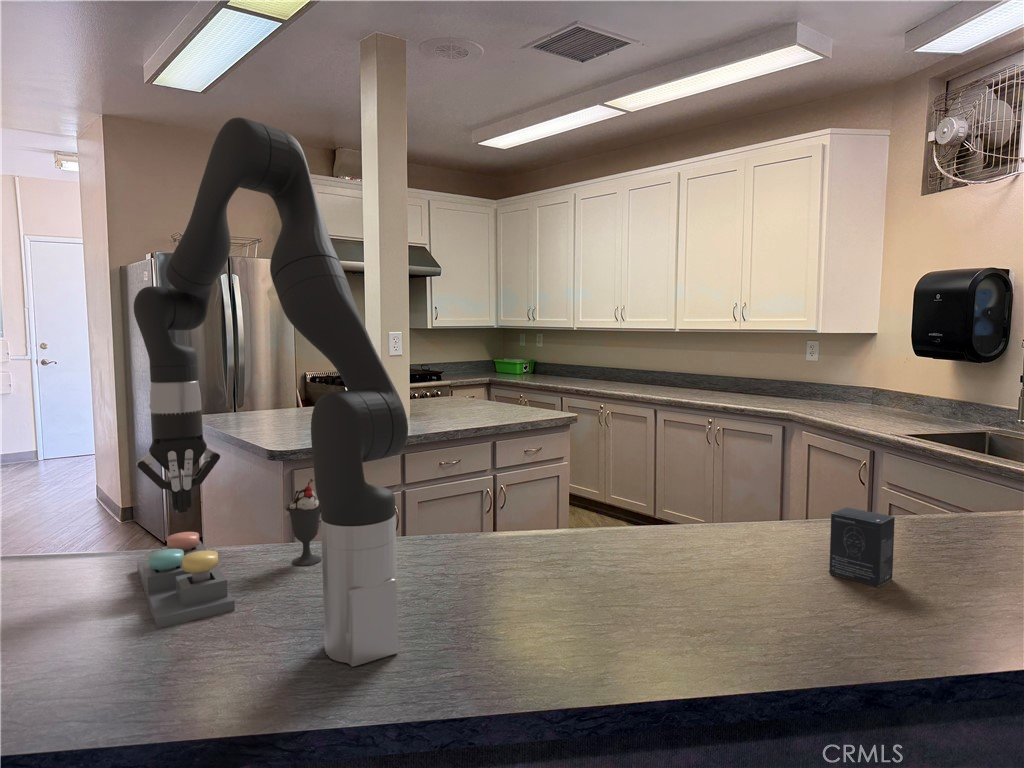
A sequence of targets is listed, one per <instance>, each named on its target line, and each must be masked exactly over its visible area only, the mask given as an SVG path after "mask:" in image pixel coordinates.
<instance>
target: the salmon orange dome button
mask: <svg viewBox="0 0 1024 768" xmlns="http://www.w3.org/2000/svg"><path fill="white" fill-rule="evenodd" d="M199 541H200V534H199V532H195V531H183V532H178V533H174V534H173V533H172V534H171V535H168V536H167V538H166V542H167V543H166V546H167V548H168V549H181V550H183V551H184V552H185V551H190V550H192V548H194V547H196V546H198V545H199Z"/></svg>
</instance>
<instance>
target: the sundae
mask: <svg viewBox="0 0 1024 768" xmlns="http://www.w3.org/2000/svg"><path fill="white" fill-rule="evenodd" d="M312 482H314V479H313V478H310V480H309V481H308V483H307V486H305V487H304V488H303V489H300V490H296V491H295V493H294V498H293V501H292V502H290V503H286V504H285V505H284V508H285V511H287V512H289V515H290V522H291V527H292V531H293V535H294V537H295V539H297V540H298V541H299V542H300V543H302V554H301V555H300V556H297V557H295V558H293V560H292V562H291V563H292V565H294V566H297V567H307V566H313V565H316V564H319V562H322V556H320V555H314V554H312V552H311V542H312V540H314V539H315V538H316V536H317V535H318V532H319V527H320V520H321V508H320V504H319V501H318V498H317V495H316V492H314V491H313V490H312V486H310V484H312Z"/></svg>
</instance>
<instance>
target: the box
mask: <svg viewBox="0 0 1024 768" xmlns="http://www.w3.org/2000/svg"><path fill="white" fill-rule="evenodd" d="M895 519H896V518H895V516H893V515H887V514H882V513H877V512H872V511H869V510H868V511H867V510H862V509H856V508H852V507H844V508H841V509H838V510H836V511H832V512H831V514H830V537H829V538H830V539H829V540H830V542H829V570H828V571H829V574H830V575H833V576H836V575H837V577H840V578H843V577H844V579H848V580H851V581H854V582H858V583H863V584H865V585H869V586H873V587H877V588H879V587H881V585H882V586H883V585H885V584H886V583H888V582H890V581H892V579H893V571H894V569H893V566H894V543H895V525H896V524H895V521H896V520H895Z"/></svg>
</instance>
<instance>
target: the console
mask: <svg viewBox="0 0 1024 768" xmlns="http://www.w3.org/2000/svg"><path fill="white" fill-rule="evenodd" d="M160 548H161V549H160V550H165V549H168V548H167V545H166V546H161V547H160ZM205 550H207V549H206V548H205V545H204V544H203V542H202V541H201V540H199V545H198V546H196V547H194V548H192V550H190V551H185V552H184V556H185V555H187V554H189V553H192V552H197V551H205ZM136 567H137V573H138V576H139V579H140V582H141V585H142V587H143V592H144V593H145V596H146V600H147V603H148V605H149V609H150V611H151V615H152V617H153V621H154V623H155V626H156V629H161V628H165V627H169V626H170V627H171V626H174V625H177V624H182V623H186V622H190V621H194V620H195V621H196V620H199V619H204V618H208V617H212V616H216V615H221V614H224V613H229V612H233V611H235V609H236V608H235V606H236V605H235V599H234V598H233V596H232V594H231V593H230V592H229V590H228V579H227V578H226V576H225V575H224V573H223V572H222V570H221V569H220V568H219V567H215V568H213V569H211V570H210V581H205V582H200V583H195V584H192V573H191V572H185V571H183V570H182V564H181V565H180V566H177V567H176V569H174V570H168V571H163V572H158V570H155V569H151V568H149V559H148V560H143V561H138V562H136Z"/></svg>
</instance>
